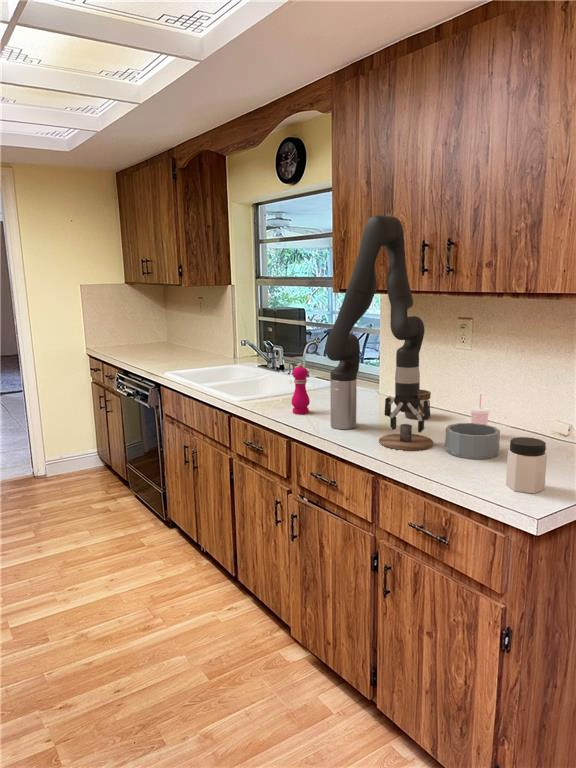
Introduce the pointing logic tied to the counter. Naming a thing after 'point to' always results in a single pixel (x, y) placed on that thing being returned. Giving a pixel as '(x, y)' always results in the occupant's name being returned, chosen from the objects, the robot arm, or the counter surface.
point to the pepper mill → (300, 391)
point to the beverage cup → (479, 414)
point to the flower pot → (423, 396)
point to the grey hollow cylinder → (472, 440)
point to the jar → (526, 465)
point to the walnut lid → (406, 440)
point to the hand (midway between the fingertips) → (406, 430)
